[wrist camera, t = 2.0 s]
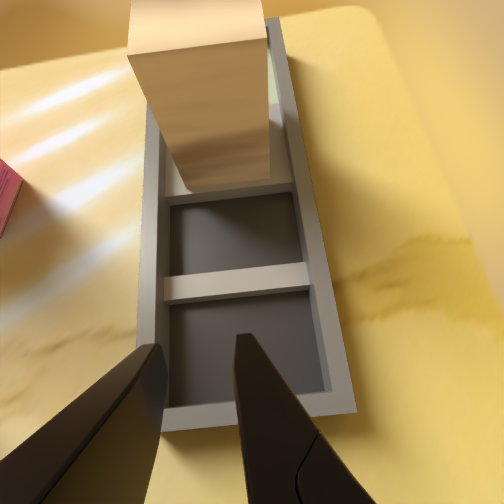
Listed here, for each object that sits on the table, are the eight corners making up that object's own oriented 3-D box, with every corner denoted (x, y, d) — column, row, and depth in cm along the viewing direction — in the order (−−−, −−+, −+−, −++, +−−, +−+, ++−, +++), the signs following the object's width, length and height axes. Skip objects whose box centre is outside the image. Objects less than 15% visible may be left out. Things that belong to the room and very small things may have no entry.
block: (270, 178, 23) (267, 37, 14) (186, 188, 23) (126, 55, 14) (261, 114, 25) (253, -43, 16) (184, 124, 25) (133, -27, 16)
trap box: (345, 408, 18) (357, 412, 16) (153, 427, 19) (132, 434, 16) (278, 51, 30) (278, 17, 27) (161, 65, 30) (149, 33, 27)
